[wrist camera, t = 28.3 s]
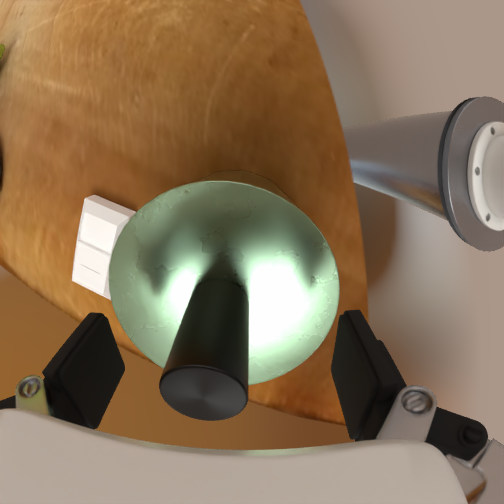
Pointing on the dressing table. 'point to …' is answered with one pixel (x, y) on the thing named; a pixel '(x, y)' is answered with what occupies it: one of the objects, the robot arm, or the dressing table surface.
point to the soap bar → (97, 242)
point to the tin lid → (222, 291)
